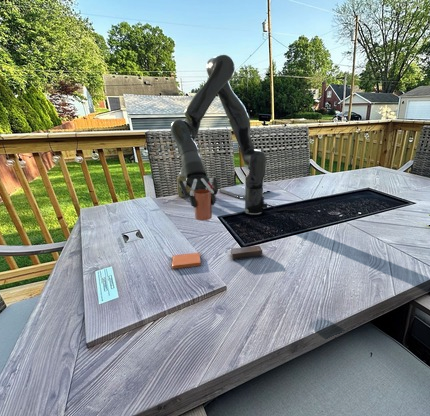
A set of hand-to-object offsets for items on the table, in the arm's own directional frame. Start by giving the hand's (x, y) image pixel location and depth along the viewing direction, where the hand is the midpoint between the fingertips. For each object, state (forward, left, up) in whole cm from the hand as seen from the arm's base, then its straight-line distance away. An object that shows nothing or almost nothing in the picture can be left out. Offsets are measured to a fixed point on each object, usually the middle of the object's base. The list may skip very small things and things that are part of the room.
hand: (204, 205), depth 93 cm
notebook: (-33, -76, -18) cm, 85 cm away
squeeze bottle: (+7, -72, -18) cm, 75 cm away
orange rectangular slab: (+7, +7, -18) cm, 21 cm away
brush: (-14, +8, -18) cm, 24 cm away
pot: (0, -2, -5) cm, 6 cm away
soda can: (-8, -66, -18) cm, 69 cm away
